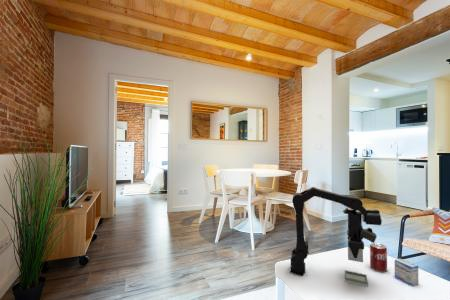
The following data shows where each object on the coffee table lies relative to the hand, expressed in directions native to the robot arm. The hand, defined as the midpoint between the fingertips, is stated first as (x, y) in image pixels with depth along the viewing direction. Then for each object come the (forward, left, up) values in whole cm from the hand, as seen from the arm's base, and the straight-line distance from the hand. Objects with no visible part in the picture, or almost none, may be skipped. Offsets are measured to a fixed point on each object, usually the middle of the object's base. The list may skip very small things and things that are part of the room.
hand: (355, 256), depth 107 cm
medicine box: (+21, +10, -12) cm, 26 cm away
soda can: (+11, +17, -12) cm, 23 cm away
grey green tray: (0, 0, -12) cm, 12 cm away
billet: (0, 0, -2) cm, 2 cm away
